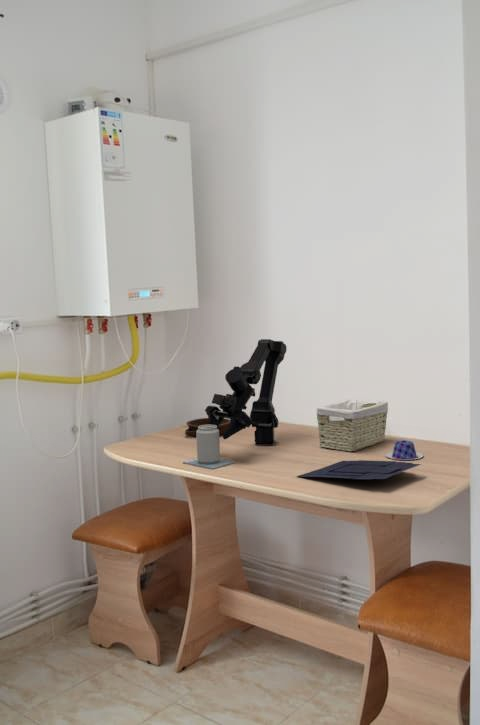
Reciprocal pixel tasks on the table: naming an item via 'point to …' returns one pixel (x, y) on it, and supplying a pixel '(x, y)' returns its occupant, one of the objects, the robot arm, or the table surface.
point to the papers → (361, 469)
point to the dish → (204, 421)
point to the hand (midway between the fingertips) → (215, 436)
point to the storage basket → (352, 424)
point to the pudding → (404, 451)
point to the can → (208, 444)
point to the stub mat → (210, 466)
